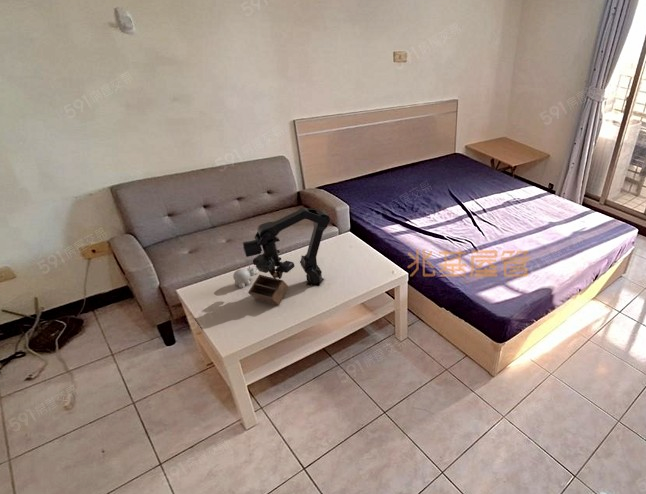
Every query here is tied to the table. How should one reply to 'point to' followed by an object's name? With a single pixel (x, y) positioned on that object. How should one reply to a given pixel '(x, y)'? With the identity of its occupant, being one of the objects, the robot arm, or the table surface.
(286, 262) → the robot arm
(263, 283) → the shelf
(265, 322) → the table surface
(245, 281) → the toy rhinoceros
